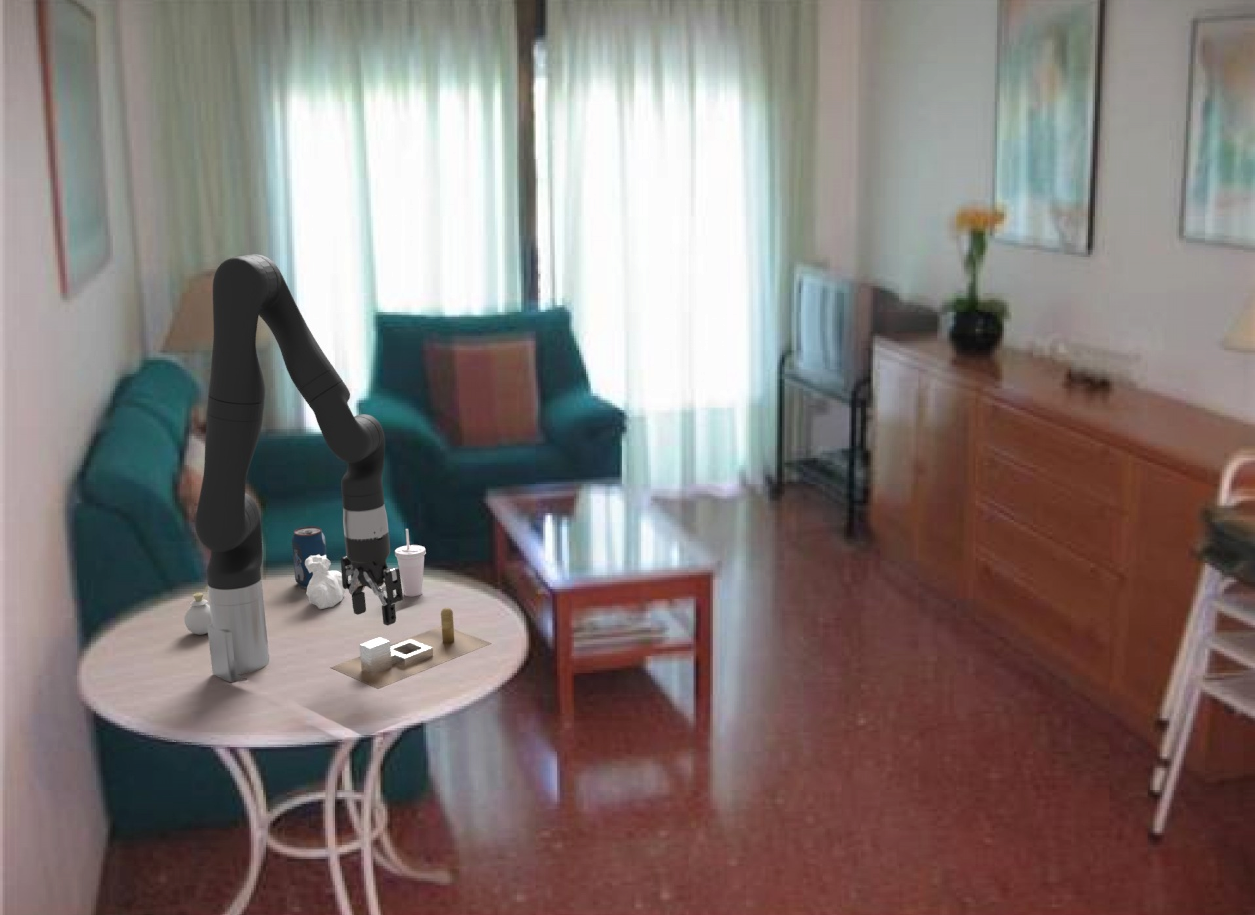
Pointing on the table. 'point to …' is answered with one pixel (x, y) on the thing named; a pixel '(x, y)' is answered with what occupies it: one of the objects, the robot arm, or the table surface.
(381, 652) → the steel link
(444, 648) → the board
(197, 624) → the white potion bottle
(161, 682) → the table surface
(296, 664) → the table surface
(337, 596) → the white tied bag
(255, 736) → the table surface
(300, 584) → the soda can
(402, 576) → the smoothie
